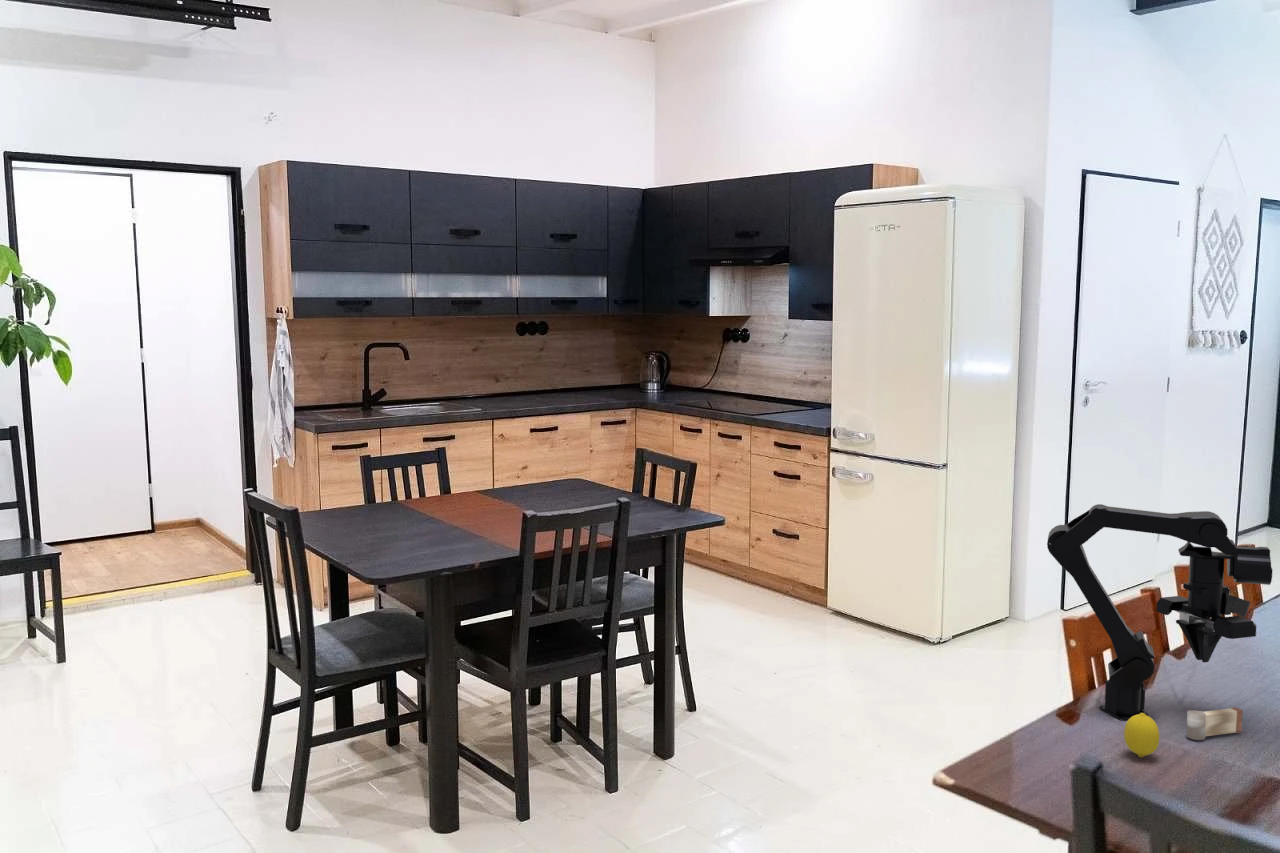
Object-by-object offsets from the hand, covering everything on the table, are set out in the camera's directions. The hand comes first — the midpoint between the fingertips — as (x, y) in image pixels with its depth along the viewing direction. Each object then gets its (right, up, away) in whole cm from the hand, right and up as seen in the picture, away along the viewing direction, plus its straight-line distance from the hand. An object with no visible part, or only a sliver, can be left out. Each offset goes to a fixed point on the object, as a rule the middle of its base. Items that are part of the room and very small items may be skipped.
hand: (1202, 660), depth 194 cm
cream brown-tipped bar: (-1, -12, -5) cm, 13 cm away
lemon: (-18, -14, -14) cm, 27 cm away
